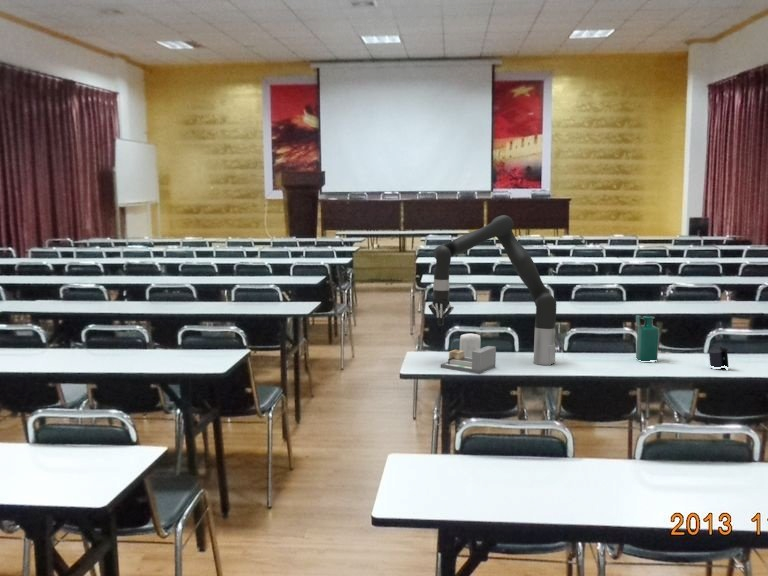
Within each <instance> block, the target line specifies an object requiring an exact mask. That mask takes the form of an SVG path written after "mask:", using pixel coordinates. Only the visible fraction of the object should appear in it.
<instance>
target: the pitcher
mask: <svg viewBox="0 0 768 576" xmlns="http://www.w3.org/2000/svg"><path fill="white" fill-rule="evenodd" d="M641 319H642V320H644V323H643V324H641ZM654 319H655V316H650V315H643V316H641V315H638V314H636V315H635V324H636V326H637V335H636V352H635V359H636V358H637V359H638V360H641V361H650V360H657V361H658V356H659V355H658V354H659V353H658V351H659V335H660V330H659V329H660V328H659V327H657V326H655V325H654V324H653V321H654ZM637 359H636V360H637ZM638 360H637V361H638Z"/></svg>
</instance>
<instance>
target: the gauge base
mask: <svg viewBox="0 0 768 576" xmlns="http://www.w3.org/2000/svg"><path fill="white" fill-rule="evenodd" d="M496 353H497V347H496V346H493V345H492V346H491V345H486V346H484V347H480V349H478V350H475V351H473V352H472V358H468V357H464V361H461V360H454V359H452V360H450V364H448V361H446V362H444V363H441V364H440V368H442V369H448V370H454V371H460V372H466V373H473V374H477V375H478V374H482V373H486V372H487V371H490V370H492V369H494V368H496V366H497V365H496V363H497V361H496V360H497V359H496V358H497V354H496Z"/></svg>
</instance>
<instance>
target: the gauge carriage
mask: <svg viewBox="0 0 768 576" xmlns="http://www.w3.org/2000/svg"><path fill="white" fill-rule="evenodd" d="M464 353H465V351H462V350H460V349H453V350H450V351H449V352H448V354H449V355H448V359H447V362H448V364H450V360H452V359H454V360H461V361H464Z"/></svg>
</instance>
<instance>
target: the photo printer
mask: <svg viewBox="0 0 768 576" xmlns="http://www.w3.org/2000/svg"><path fill="white" fill-rule="evenodd" d="M478 349H481V335H480V334H476V333H464V334H461V335H460V337H459V350H462V351H465V353H464V357H468V358H472V352H473V351H475V350H478Z"/></svg>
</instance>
